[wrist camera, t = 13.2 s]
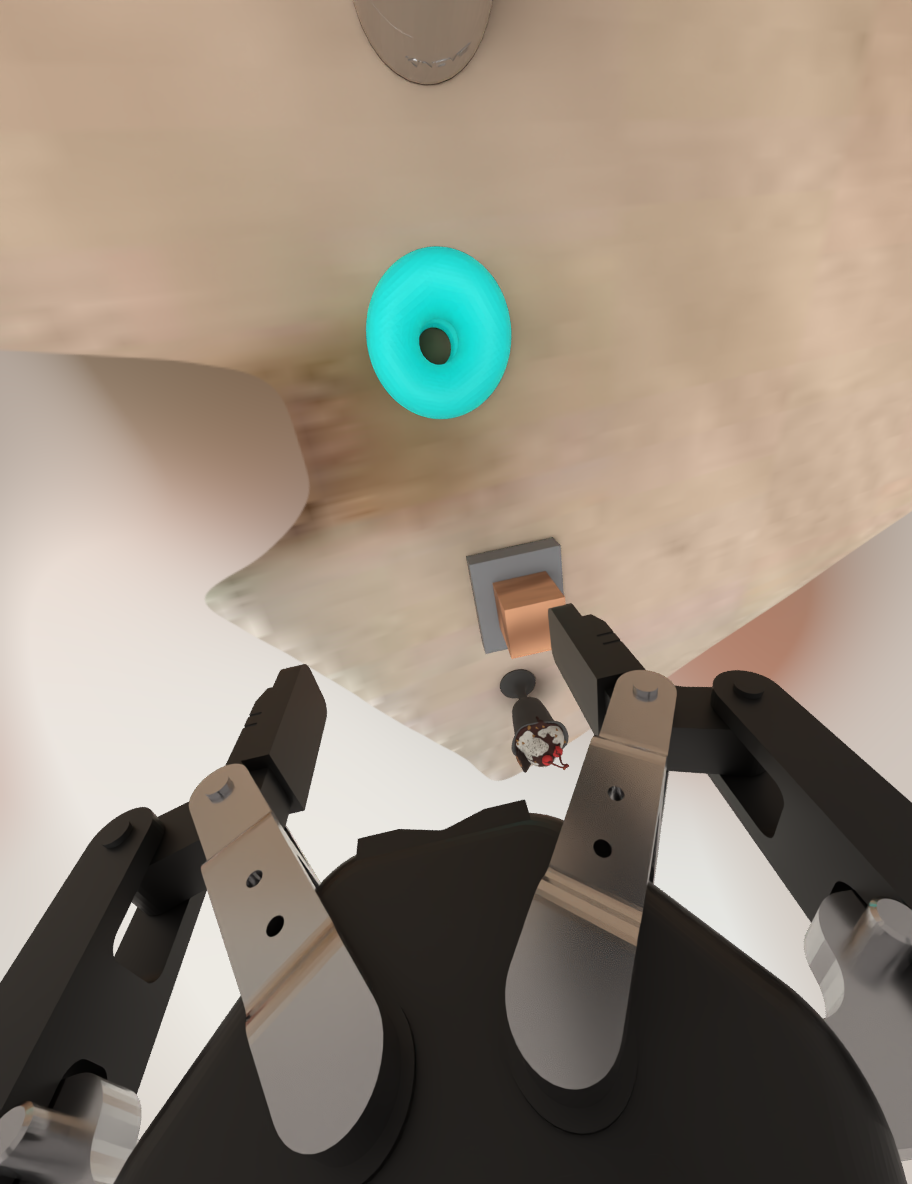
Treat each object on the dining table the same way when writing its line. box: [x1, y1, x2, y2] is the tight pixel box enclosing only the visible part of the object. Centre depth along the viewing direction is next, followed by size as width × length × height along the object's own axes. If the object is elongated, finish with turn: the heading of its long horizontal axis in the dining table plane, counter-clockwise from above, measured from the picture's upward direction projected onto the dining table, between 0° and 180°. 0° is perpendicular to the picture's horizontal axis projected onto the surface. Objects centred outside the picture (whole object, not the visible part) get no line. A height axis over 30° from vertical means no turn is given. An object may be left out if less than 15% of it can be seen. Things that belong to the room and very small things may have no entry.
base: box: [466, 538, 564, 654], centre depth 46 cm, size 12×10×3 cm
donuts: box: [366, 246, 511, 419], centre depth 30 cm, size 10×10×10 cm
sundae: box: [500, 670, 569, 772], centre depth 47 cm, size 7×7×15 cm
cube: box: [492, 571, 565, 659], centre depth 42 cm, size 6×6×6 cm
